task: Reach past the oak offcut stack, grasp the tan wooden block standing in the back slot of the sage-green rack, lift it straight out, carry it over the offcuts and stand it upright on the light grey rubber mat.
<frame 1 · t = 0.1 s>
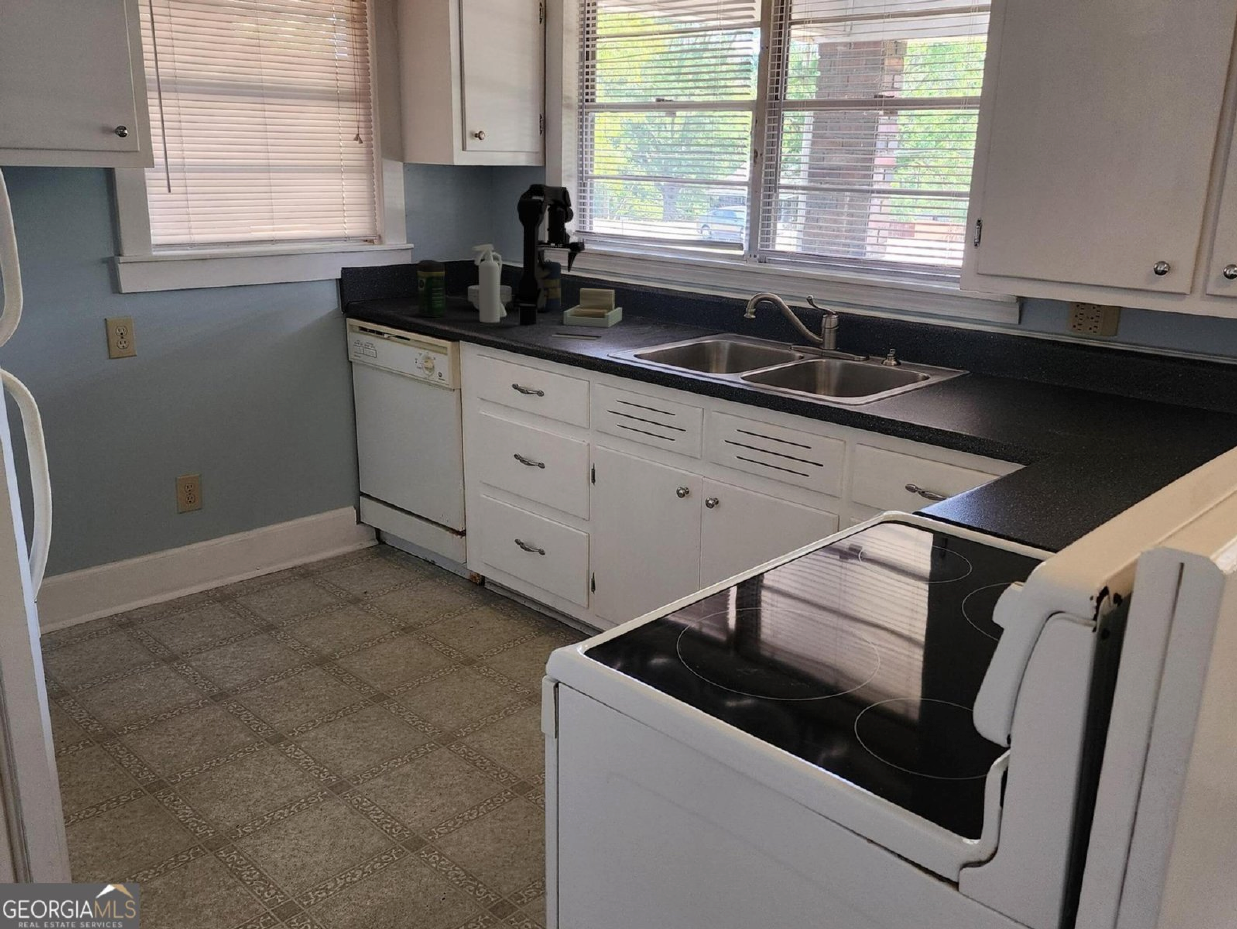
hand: (556, 271, 362), 15 cm above the worktop, fingers open, 9 cm apart
coffee jar: (432, 316, 356), on the worktop
fire extinguisher: (491, 321, 349), on the worktop
tan wooden block: (596, 319, 350), point 1 cm above the worktop, touching rack
rack: (593, 324, 346), on the worktop
grey mat: (580, 334, 328), on the worktop
canister: (547, 311, 373), on the worktop
offcut stack: (589, 323, 342), point 1 cm above the worktop, touching rack
paper bowls: (489, 309, 374), on the worktop
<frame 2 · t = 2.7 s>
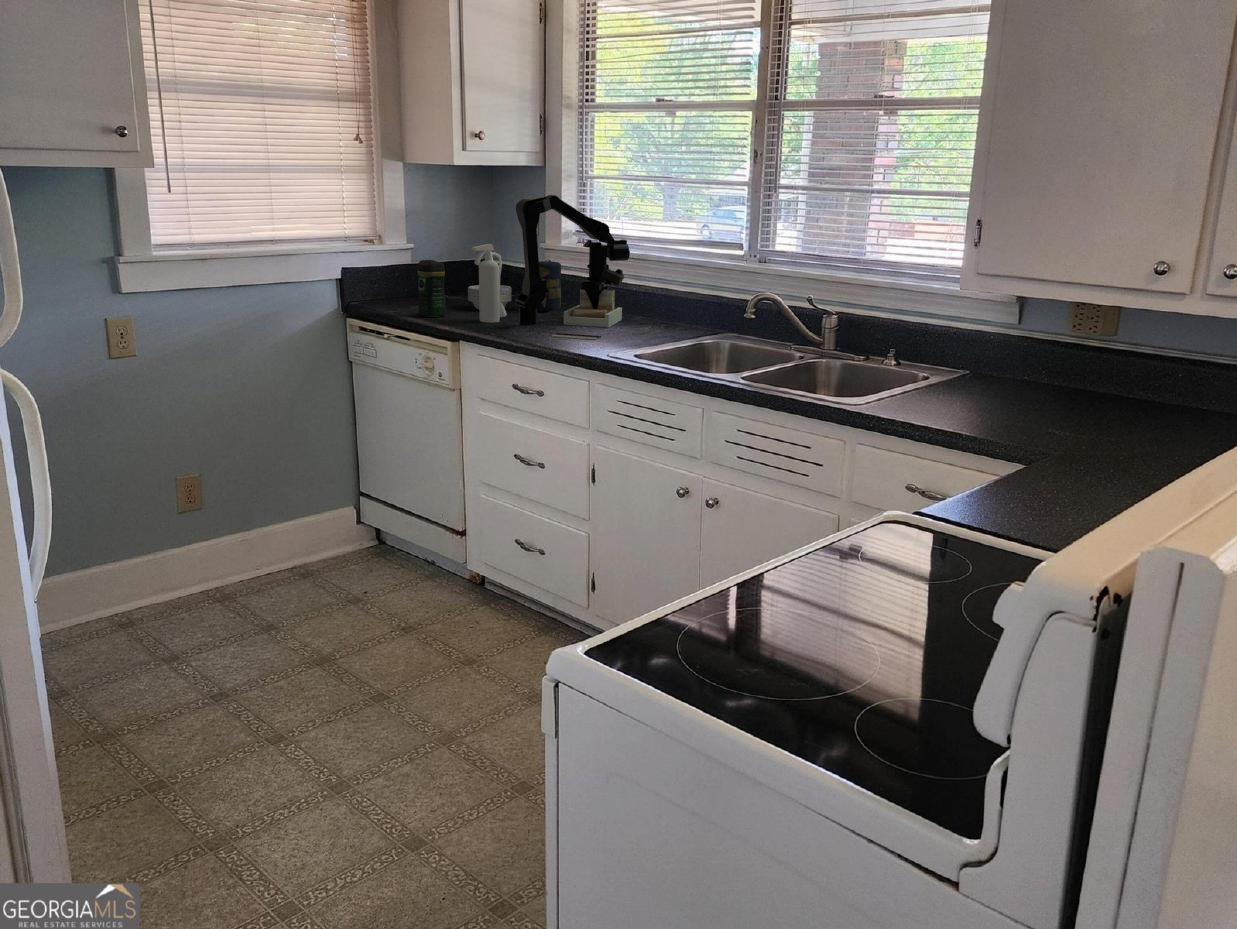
hand: (597, 309, 349), 5 cm above the worktop, fingers closed on tan wooden block, 3 cm apart
tan wooden block: (596, 319, 350), point 1 cm above the worktop, touching gripper, rack
everything else where it was.
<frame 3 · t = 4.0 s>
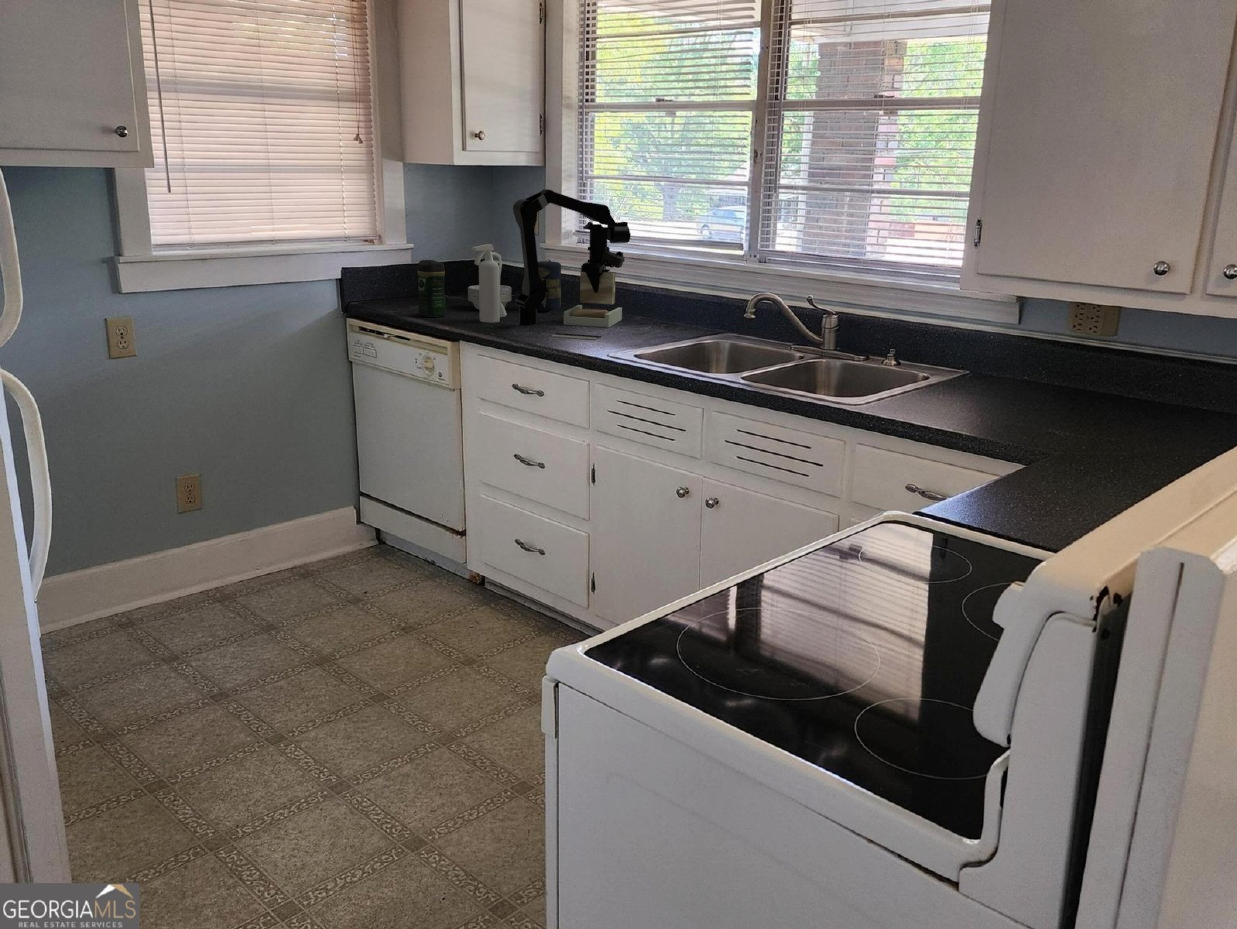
hand: (597, 291, 347), 10 cm above the worktop, fingers closed on tan wooden block, 3 cm apart
tan wooden block: (597, 302, 348), point 7 cm above the worktop, touching gripper
everything else where it was.
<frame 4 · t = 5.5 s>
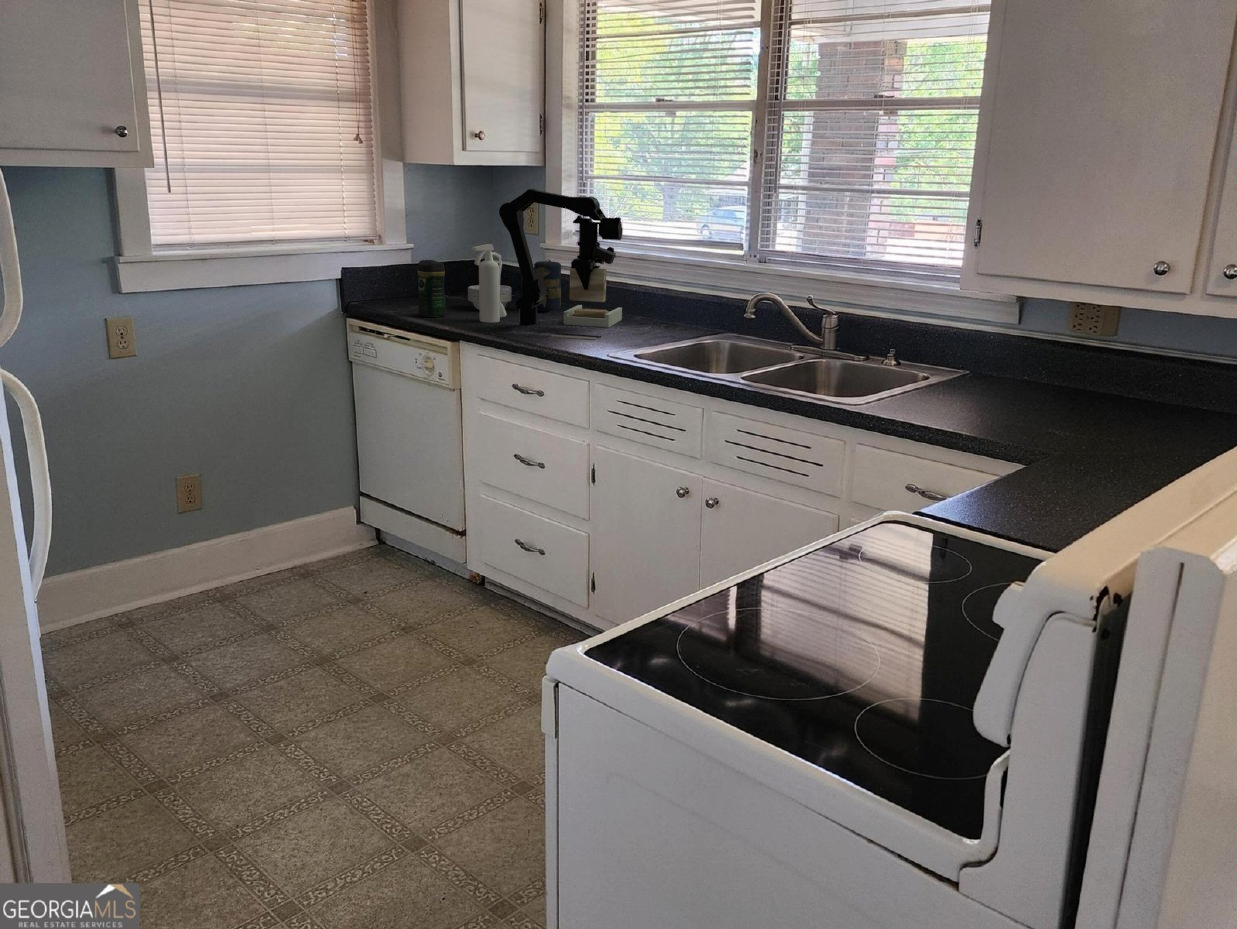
hand: (587, 289, 332), 13 cm above the worktop, fingers closed on tan wooden block, 3 cm apart
tan wooden block: (587, 300, 333), point 9 cm above the worktop, touching gripper
everything else where it was.
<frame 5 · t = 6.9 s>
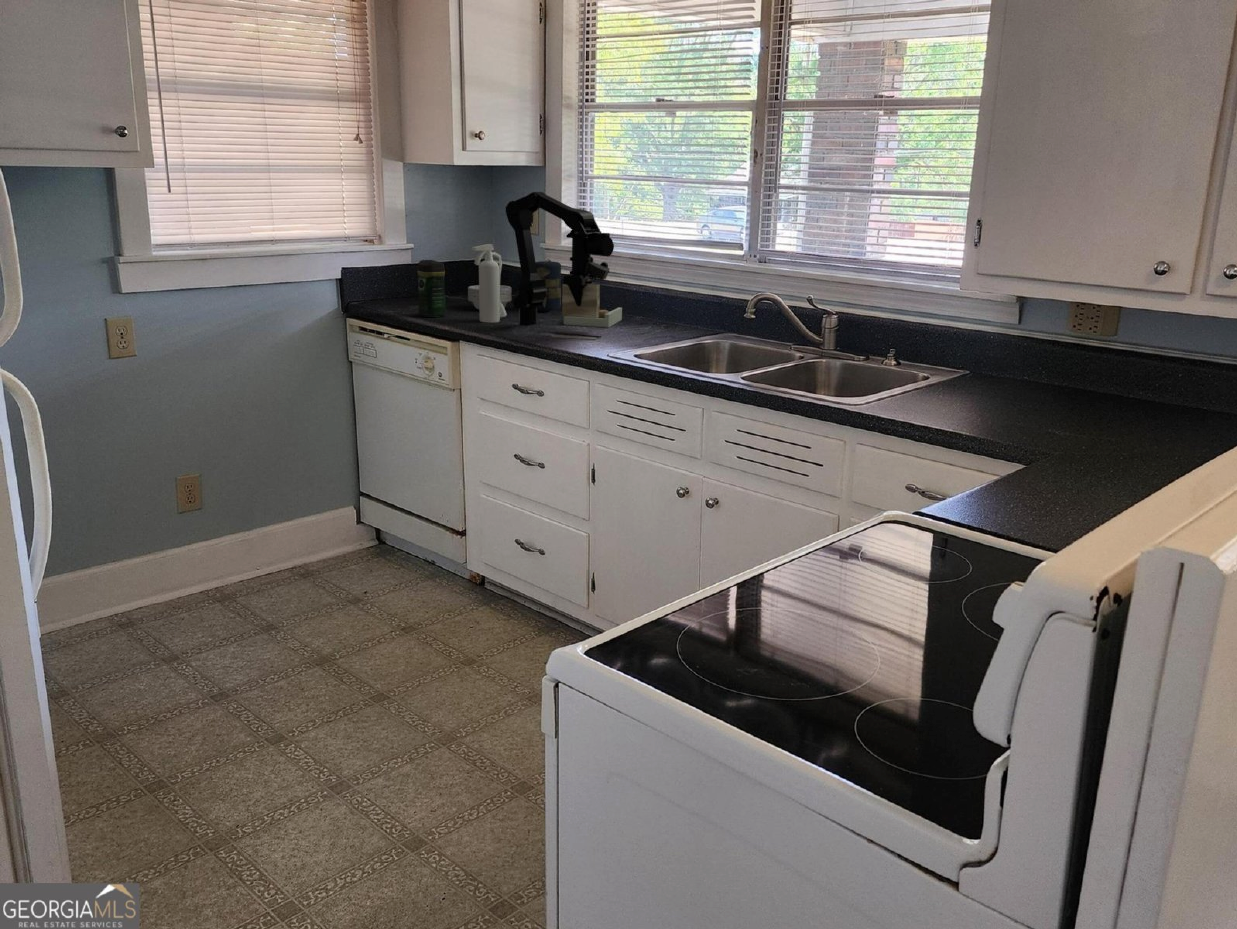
hand: (580, 305, 325), 9 cm above the worktop, fingers closed on tan wooden block, 3 cm apart
tan wooden block: (580, 316, 326), point 6 cm above the worktop, touching gripper
everything else where it was.
when the fingers open (5 cm above the worktop, at t = 8.3 s): tan wooden block stays where it is, resting on grey mat.
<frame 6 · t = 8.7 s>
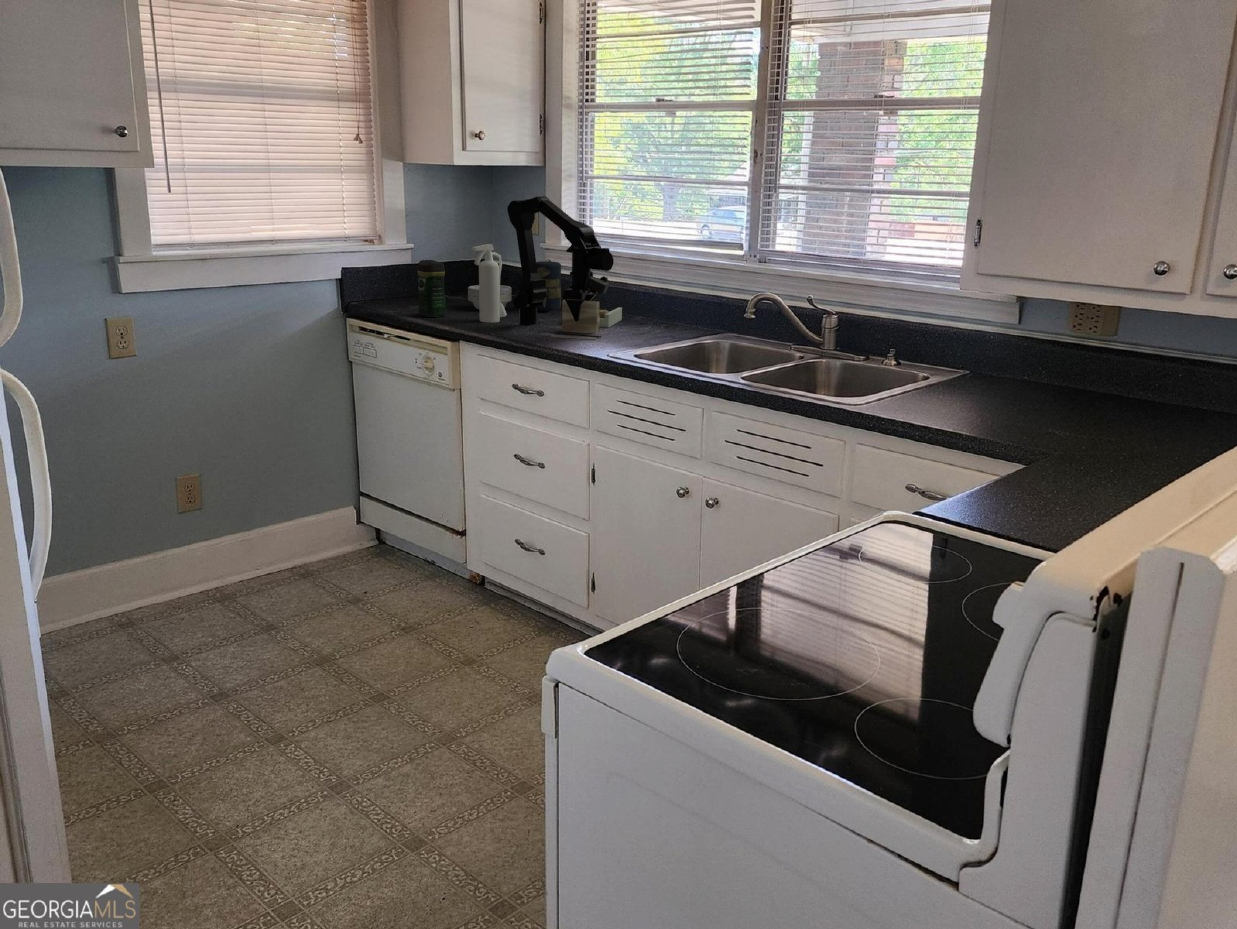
hand: (580, 319, 326), 5 cm above the worktop, fingers open, 8 cm apart
tan wooden block: (580, 333, 328), resting on grey mat
everything else where it was.
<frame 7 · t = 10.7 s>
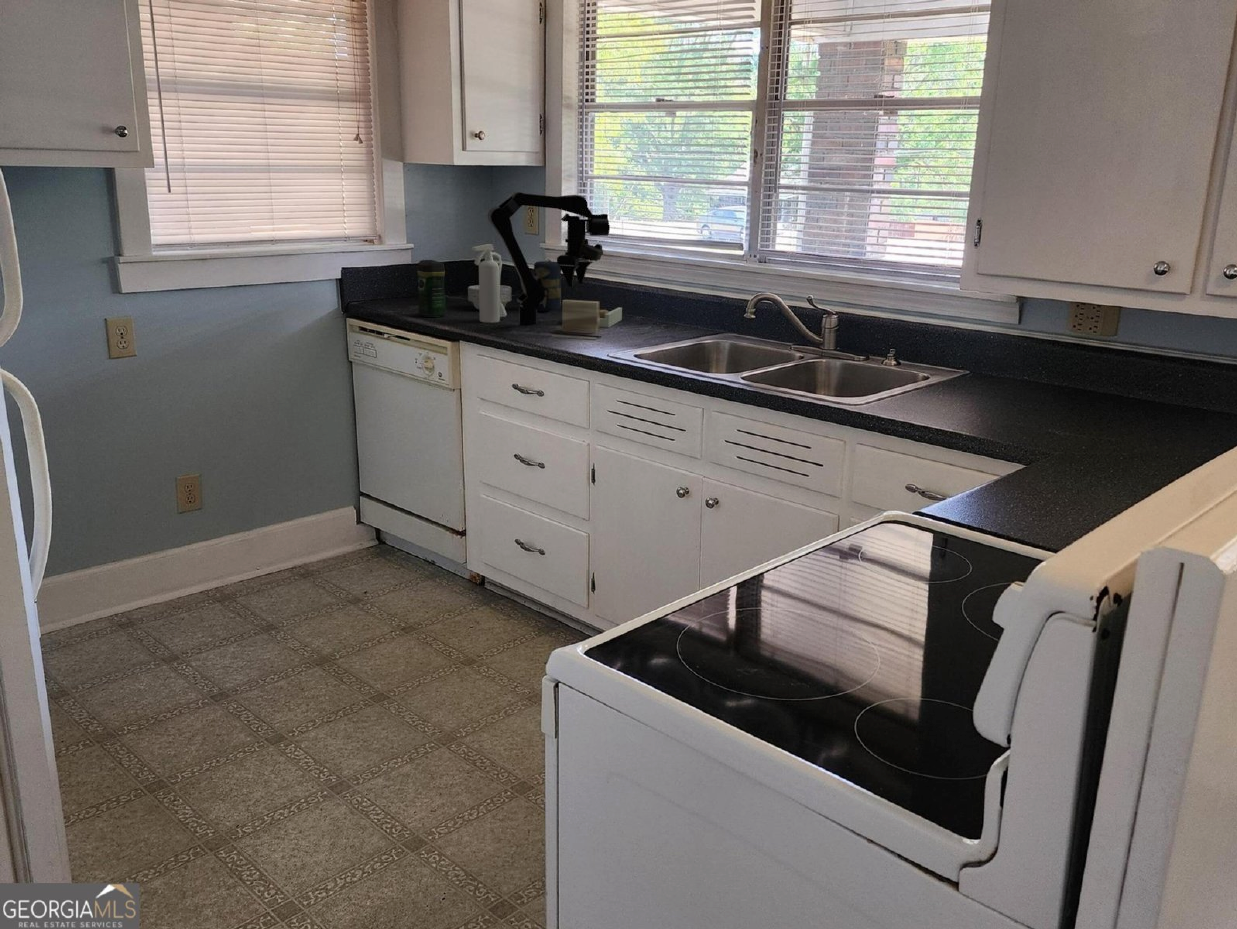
hand: (575, 285, 340), 13 cm above the worktop, fingers open, 9 cm apart
nothing on the worktop moved.
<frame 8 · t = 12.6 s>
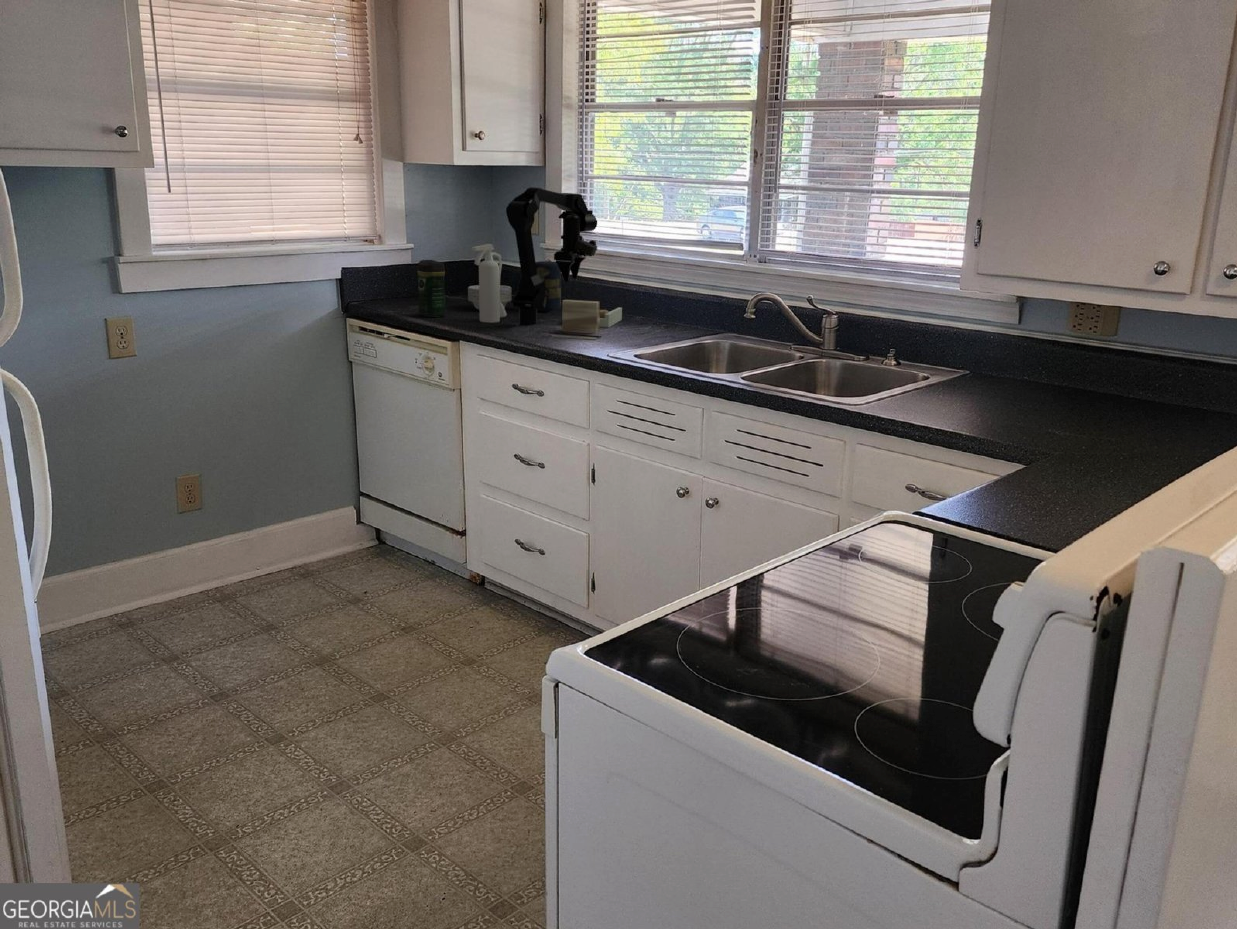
hand: (570, 280, 353), 13 cm above the worktop, fingers open, 9 cm apart
nothing on the worktop moved.
at the end: tan wooden block inside the target area (0.1 cm from its centre), resting on grey mat; tan wooden block tilted 0°; offcut stack moved 0.0 cm from its start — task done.
